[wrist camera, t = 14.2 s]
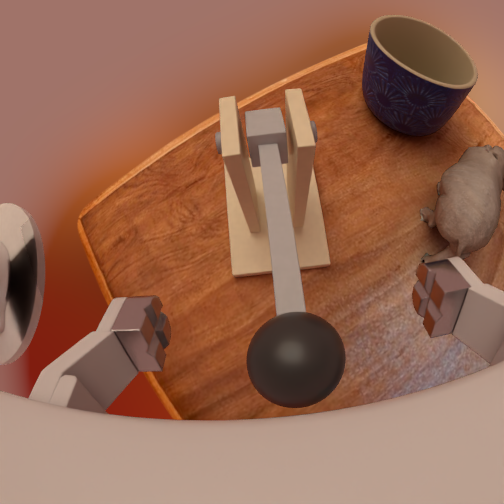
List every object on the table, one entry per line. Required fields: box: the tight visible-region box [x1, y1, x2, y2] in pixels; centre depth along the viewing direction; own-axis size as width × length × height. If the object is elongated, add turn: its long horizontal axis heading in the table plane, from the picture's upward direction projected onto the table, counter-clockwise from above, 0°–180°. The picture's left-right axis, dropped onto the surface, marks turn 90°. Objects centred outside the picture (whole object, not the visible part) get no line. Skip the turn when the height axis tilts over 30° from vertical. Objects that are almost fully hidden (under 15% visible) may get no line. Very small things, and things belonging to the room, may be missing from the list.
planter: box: [362, 15, 478, 136], centre depth 27 cm, size 12×12×11 cm
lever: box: [245, 108, 346, 408], centre depth 14 cm, size 16×4×4 cm, turn 5°
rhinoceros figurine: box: [420, 145, 504, 263], centre depth 24 cm, size 8×14×15 cm
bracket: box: [215, 89, 330, 277], centre depth 23 cm, size 12×9×15 cm
